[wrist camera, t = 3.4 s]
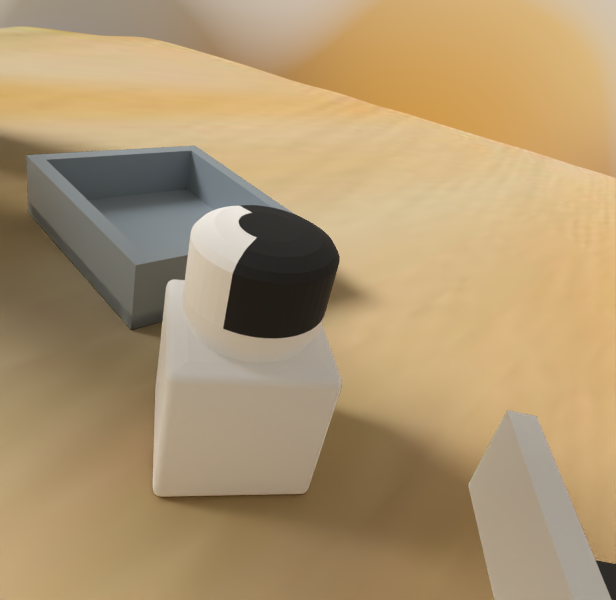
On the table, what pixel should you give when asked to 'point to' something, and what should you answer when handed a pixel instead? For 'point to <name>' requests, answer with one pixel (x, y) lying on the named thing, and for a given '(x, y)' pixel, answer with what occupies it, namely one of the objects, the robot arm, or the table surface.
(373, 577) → the table surface
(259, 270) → the medicine bottle
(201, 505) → the table surface
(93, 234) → the tote
